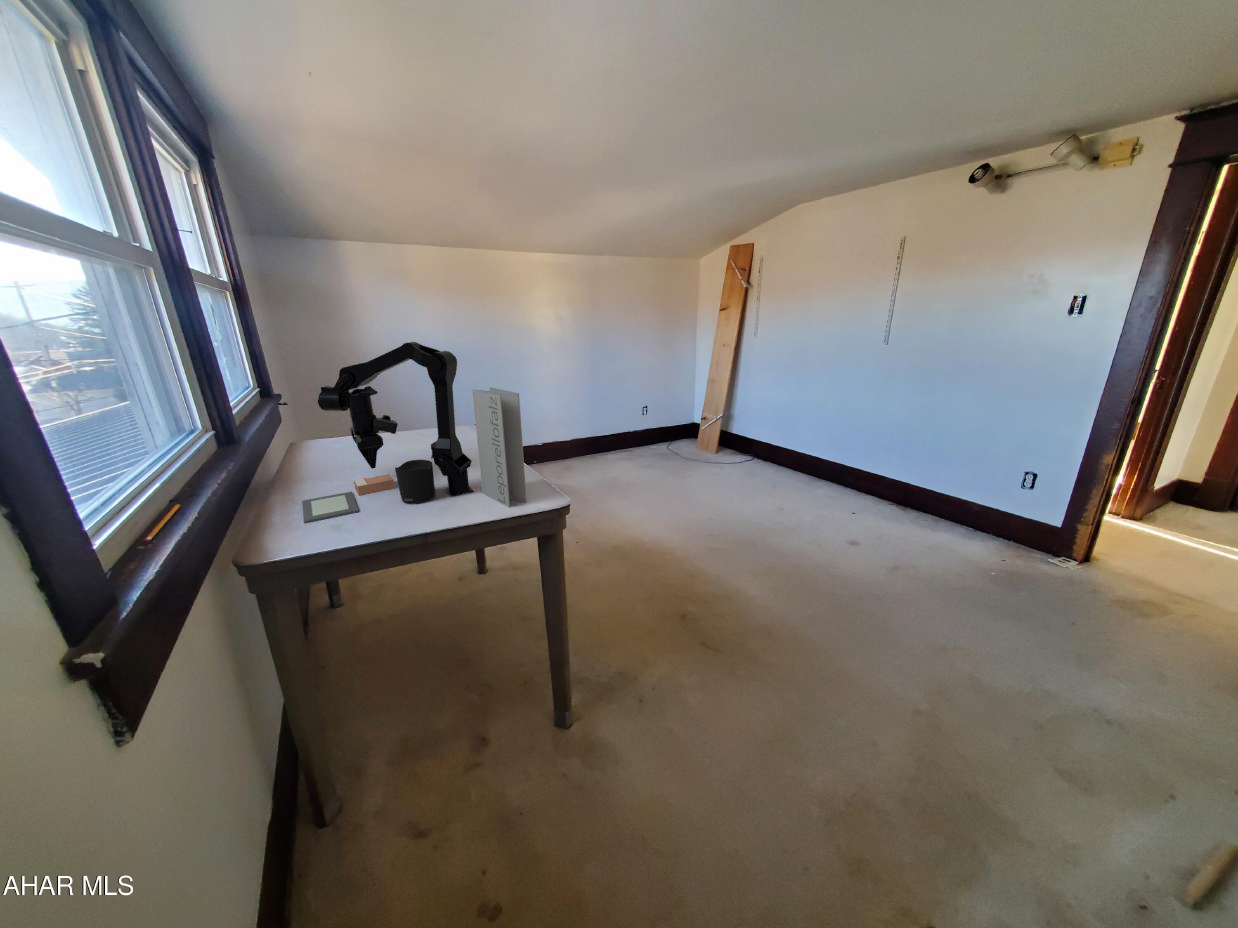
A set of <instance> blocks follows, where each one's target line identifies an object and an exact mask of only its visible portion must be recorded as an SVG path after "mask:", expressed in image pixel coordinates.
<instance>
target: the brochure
mask: <svg viewBox="0 0 1238 928" xmlns="http://www.w3.org/2000/svg"><path fill="white" fill-rule="evenodd" d="M472 400H473V402H472V403H473V410H474V420H475V430H476V431H475V432H476V439H477V449H478V450H477V451H478V459H479V460H478V462H479V469H480V479H481V488H482V491H481V492H482V494H483V495H485V496H487V497H489V498H490V499H492V500H494V501H496V502H498V503H500V504H501V505H504V506H505V507H507V508H510V507H511V504H510V500H513V501H517V502H518V501H519V502H522V503H527V491H526V490H527V489H526V487H527V486H526V476H525V473H526V472H525V460H524V447H523V432H522V431H523V429H522V419H521V416H522V415H521V404H520V403H521V401H520V393H519V392H514V391H510V390H504V389H501V388H495V387H491V386H490V387H489V390H487V389H486V390H484V389H472Z"/></svg>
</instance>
